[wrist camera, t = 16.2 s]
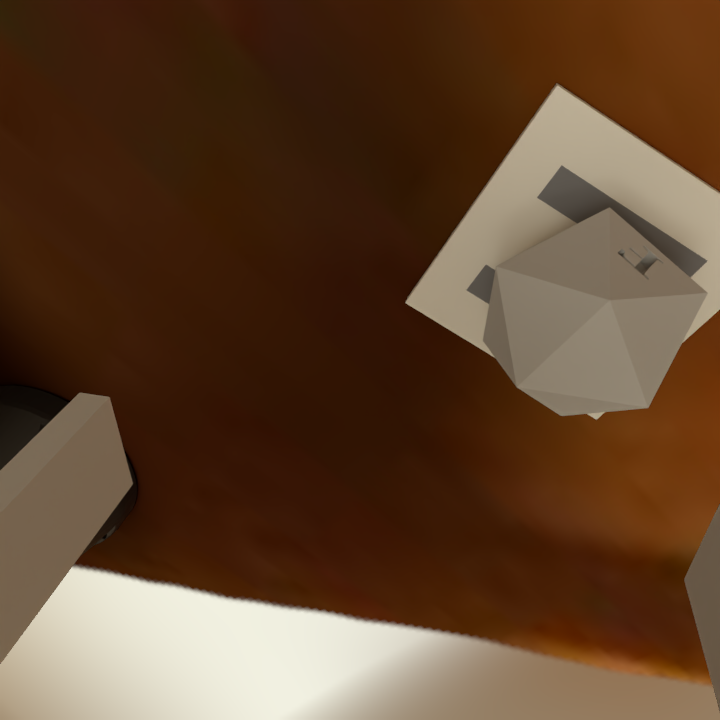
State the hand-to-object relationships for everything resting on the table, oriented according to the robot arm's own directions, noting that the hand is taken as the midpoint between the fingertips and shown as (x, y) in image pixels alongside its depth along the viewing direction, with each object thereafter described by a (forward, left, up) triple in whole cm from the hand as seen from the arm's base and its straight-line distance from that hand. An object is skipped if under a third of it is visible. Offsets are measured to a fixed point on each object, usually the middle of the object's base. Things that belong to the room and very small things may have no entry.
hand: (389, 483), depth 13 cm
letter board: (+6, -4, -21) cm, 22 cm away
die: (+6, -4, -20) cm, 22 cm away
